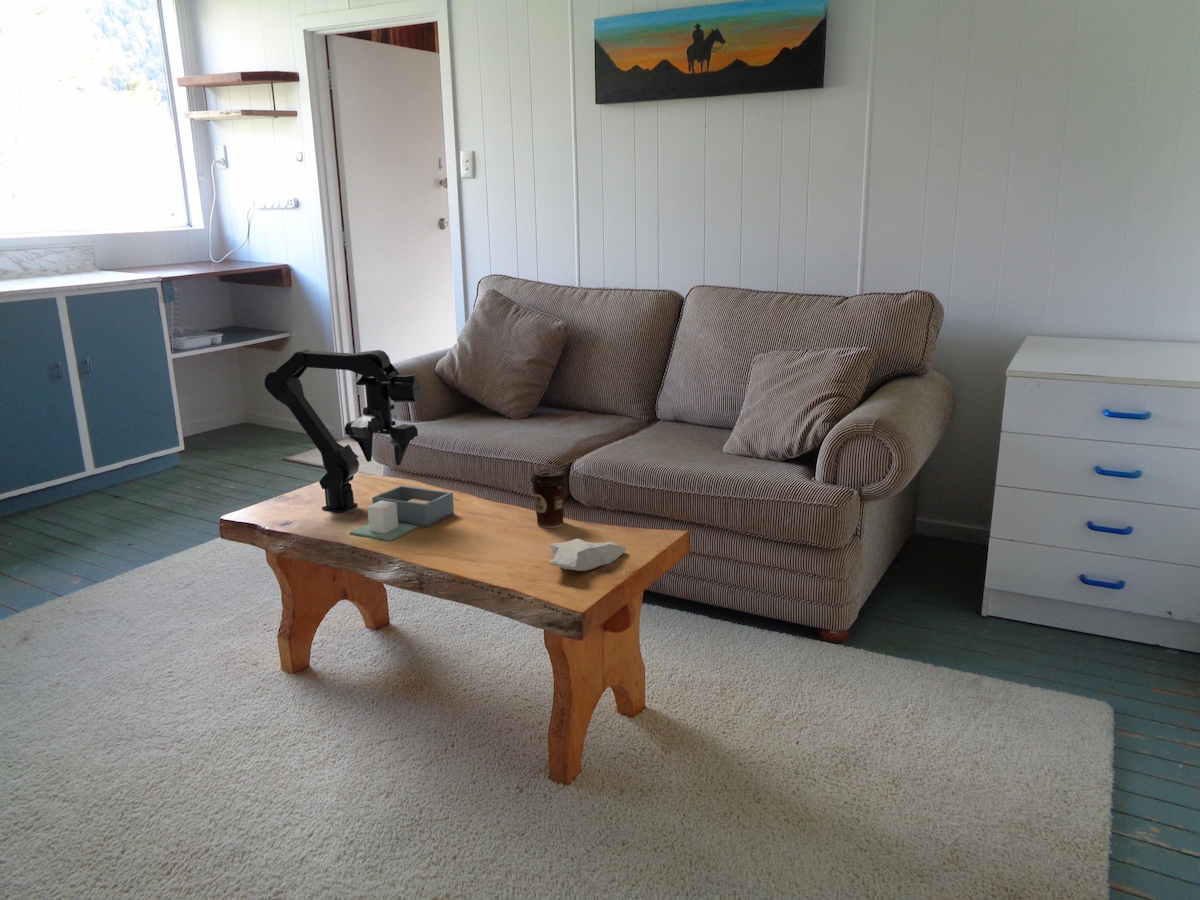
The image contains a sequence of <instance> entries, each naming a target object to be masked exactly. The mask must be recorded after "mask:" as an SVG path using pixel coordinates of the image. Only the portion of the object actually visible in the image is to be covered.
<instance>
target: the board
mask: <svg viewBox="0 0 1200 900" xmlns="http://www.w3.org/2000/svg"><path fill="white" fill-rule="evenodd" d="M418 528H419V526H417V525H411V524H405V523H398V527H397V528H395V529H393V530H391V531H388V532H386V533H380V532H374V531H369V522H368V523H367V524H364V525H362V526H360V527H357V528H356V529H353V530H352V531H350V532H349V535H353V536H361V537H363V538H365V537H366V538H370V539H377V540H383V541H388V542H391V541H394V540H396V539H398V538H400V537H402V536H404V535H406V534H408V533H410V532H412V531H414V530H417V529H418Z"/></svg>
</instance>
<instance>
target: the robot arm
mask: <svg viewBox="0 0 1200 900" xmlns="http://www.w3.org/2000/svg"><path fill="white" fill-rule="evenodd" d="M308 368H312V369H326V370H327V369H328V370H339V371H340V370H341V371H349V372H353V373H355V374H357V375H361V377H360V378H359V380H358V381H357V382H355V383H356V386H364V387H365V388H364V389H365V400H366V407H363V410H362V415H361V416H360V417H358V418H357V419H355V420H352V421H350V422H346V424H345V426H344V433H345V435H346V436H348V437H349V438H350V439H352V440H354V441H356V443H357V444H358V445H359V448H360V450H361V451H362V455H363V456H364V458H365V460H366V462H367V463H370V462H371V461H372V457H373V440H374V439H373V437H374V434H379V435H380V434H382V435H389V436H390V438H391V439H392V440H390V441H389V442H390V443H391V444H392V446H393V451H394V459H395V464H396V467H397V466H398V467H399V466H401V464H402V461H403V458H404V456H405V453H406V450H407V448H408V446H409V444H410V442H411V441H412V440H414V439H415V437H418V436H419V435H418V433H419V432H418V431H419V430H418V427H416V425H414V424H405V423H403V424H399V425H397V423H396V421H395V420H393V418H392V410H394V409H395V405H394V404H391V401H393V402H394V403H403V404H404V403H407V404H409V403H410V404H411V403H417V404H418V403H419V402H420V401H421V398H422V397H421V396H422V386H421V385H420V382H419V380H418V377H417V374H409V375H401V374H400V373H399V371H398V370H397V368H396V367H395V366H394V365H393V364H392V362H391V360H390V357H389V355H388V354H387V353H386V352H385V351H384V350H379V349H376V350H367V351H361V352H353V353H352V352H351V353H350V352H349V353H348V352H337V351H335V352H334V351H322V350H321V351H317V350H308V349H301V350H298V351H296V352H294V354H293V355H291V357H290V358H289V359H288V360H286V361H285V362H284V363H283V364H282V365H280V366H279V367H278V368H277V369H276V370H273V371H271V372H269V373H268V374H266V375H265V378H264V383H263V385H264V387H265V389H266V391H267V392H268V393H269V394H270V395H271V396H272V397H273V398H274V399H275V400H276V401H278V402H280V403H281V404H283V405H284V406H286V407H287V408H288V409H289V411H290V412H291V413H292V415H293V416H294V418H295V419H296V421H297V422H298V423H299V425H300V426H301V428H303V431H305V433H306V434H307V436H308V438H309V439H310V441H312V443H313V444H314V446H315V447H316V448H317V450H318V451H319V452H320V456H321V460H322V464H323V467H324V470H326V471H325V472H326V473H325V474H324V475H323V476H322V478H320V480H319V485H320V487H321V489H322V490H324V496H325V498H324V499H325V504H326V505H325V506H322V507H321V510H325V511H330V512H338V513H342V512H345V511H348V510H349V509H352V508H355V507H356V506H358V502H355V499H354V498H355V497H354V490H353V488H352V483H350V482H351V481H353V480H354V476H355V475H356V474H357V473H358V471H359V470H360V469H359V467H360V462H359V460H358V458H359V456H358V455H357V454H356V453H355V451H354V450H353V448H352V447H351V446H350V444H346V445H345V446H343V445H341V444H340V443H338V442H337V440H336V439H335V437H334V436H333V434H332V433H331V432H330V431H329V429H328V428H327V426H326V425H325V423H324V421H322V419H321V418H320V417H319V415H318V413H317V412H316V411H315V409H314V408H313V407H312V405H311V403H310V402H309V401H308V399H307V398H306V397H305V394H304V389H303V388H304V387H303V385H302V384H303V383H302V382H301V380H300V377H302V376H303V374H304V373H305V372H306V371H307V369H308ZM396 425H397V426H396Z"/></svg>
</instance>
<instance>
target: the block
mask: <svg viewBox="0 0 1200 900" xmlns="http://www.w3.org/2000/svg"><path fill="white" fill-rule="evenodd" d="M367 516H368V517H367V521H368V523H369V531H374V532H380V533H386V532H388V531H391V530H393V529H395V528H397V527H398V517H397V504H396V503H395V502H389V501H382V500H381V501H379V502H376V503H374V504H373V503H372V504H370V505H368V506H367Z"/></svg>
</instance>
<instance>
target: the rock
mask: <svg viewBox="0 0 1200 900" xmlns="http://www.w3.org/2000/svg"><path fill="white" fill-rule="evenodd" d="M549 547H550V550H551V554H553V555H554V556H553V558H552V559H549V561H548V563H549V564H550V565H551V566H554V567H558V568H561V569H563V570H571V571H577V572H586V571H590V570H593V569H595V568H598V567H601V566H606V565H609V564H611V563H612V562H614V561H616V560H617V559H618V558H619V557H620V556H621V555H623V554H624V553H625V552H626V551H627V548H626V547H625V546H623V545H620V544H617V543H616V542H613V541H610V542H609V541H608V542H590V541H586V540H584V539H581V538H575V539H572V540H569V541H565V542H557V543H550V544H549Z"/></svg>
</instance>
